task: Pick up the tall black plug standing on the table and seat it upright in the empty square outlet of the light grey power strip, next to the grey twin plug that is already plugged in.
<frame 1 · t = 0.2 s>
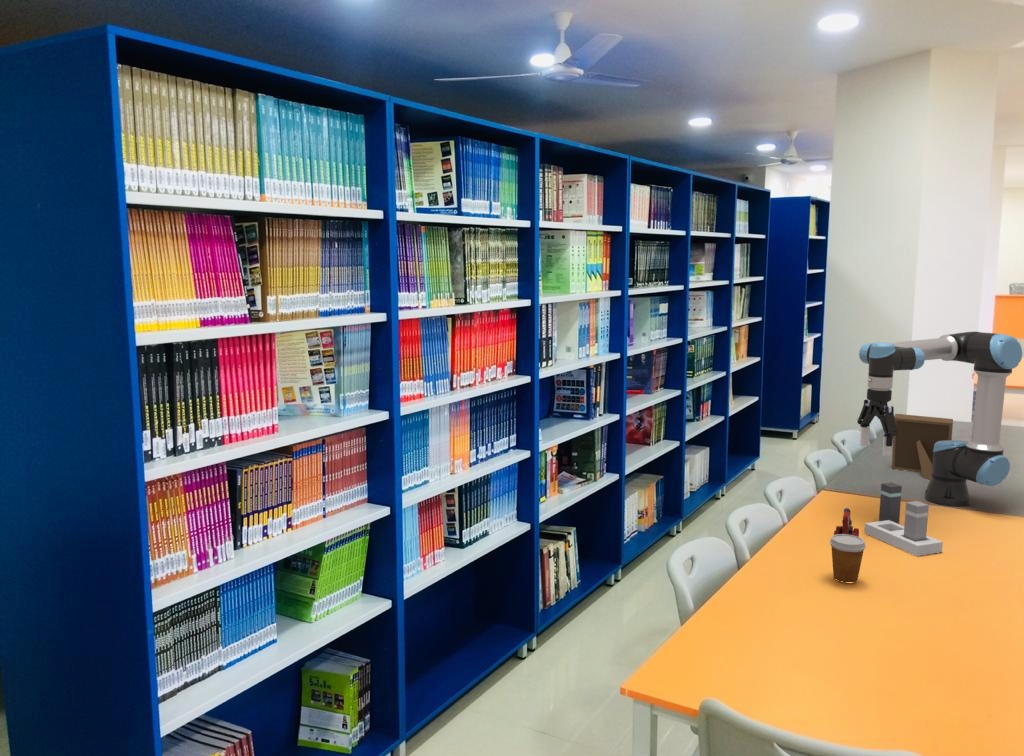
hand: (875, 450, 266), 27 cm above the table, tool pointing down, fingers open, 13 cm apart
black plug: (888, 523, 272), on the table
photo frame: (918, 474, 334), on the table
disposable coffee cup: (845, 579, 225), on the table
twin plug: (914, 547, 249), resting on power strip
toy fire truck: (845, 542, 256), on the table
power strip: (901, 542, 254), on the table
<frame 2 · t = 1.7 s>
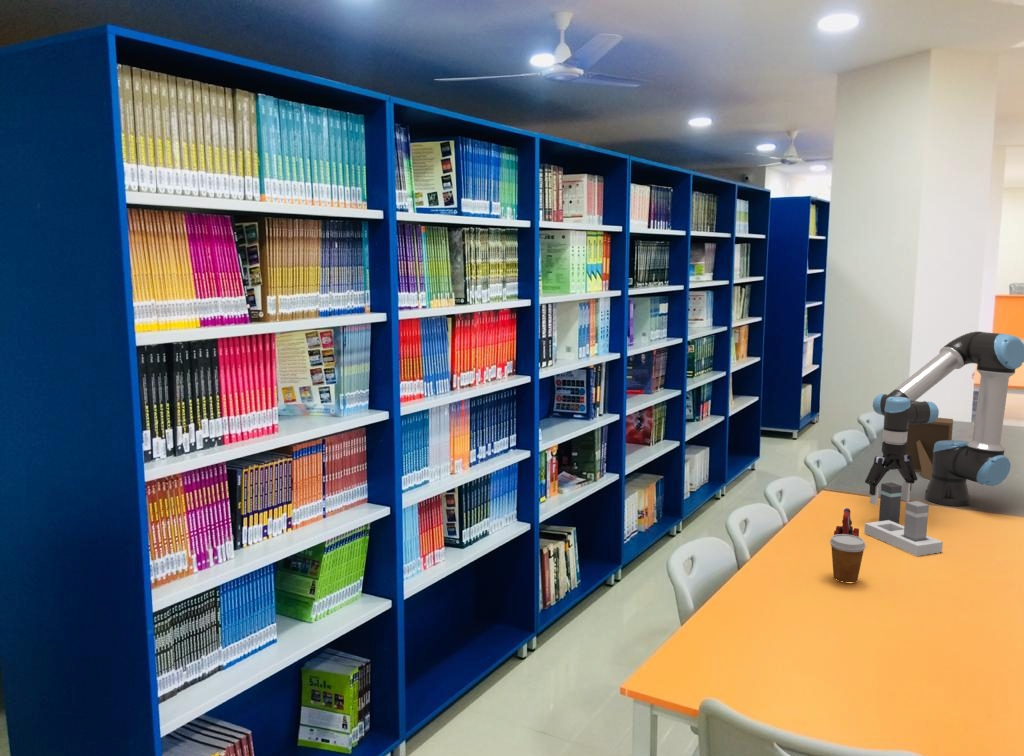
hand: (889, 502, 271), 8 cm above the table, tool pointing down, fingers open, 13 cm apart
nothing on the table moved.
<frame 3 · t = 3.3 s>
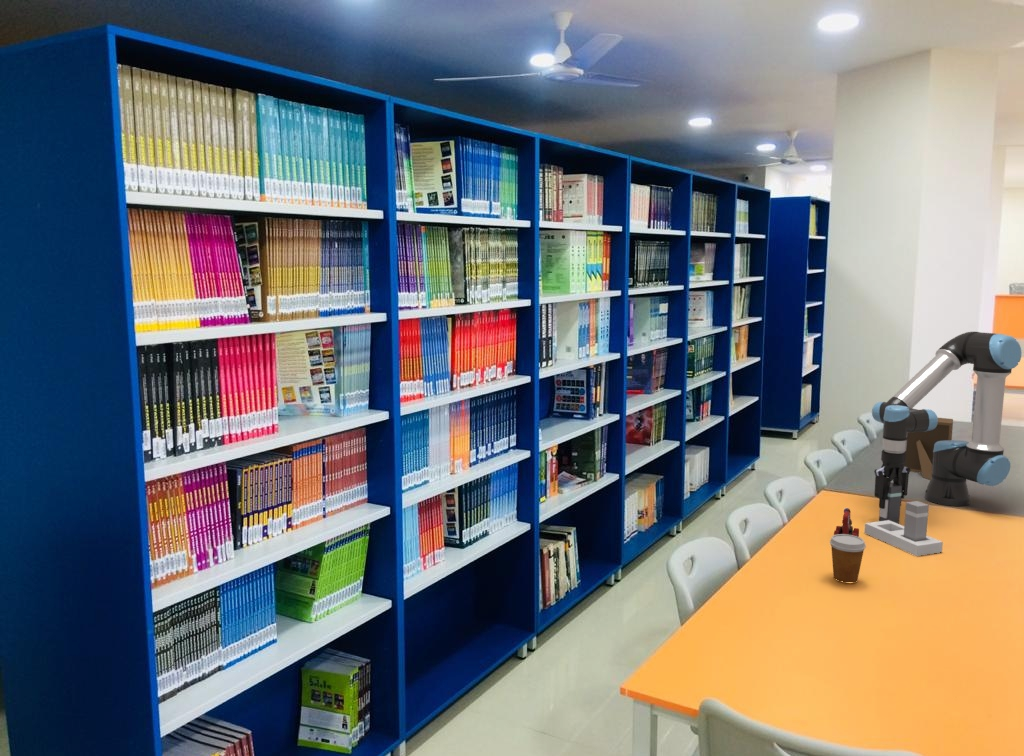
hand: (889, 516, 272), 3 cm above the table, tool pointing down, fingers closed on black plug, 4 cm apart
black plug: (888, 523, 272), on the table, touching gripper
everything else where it was.
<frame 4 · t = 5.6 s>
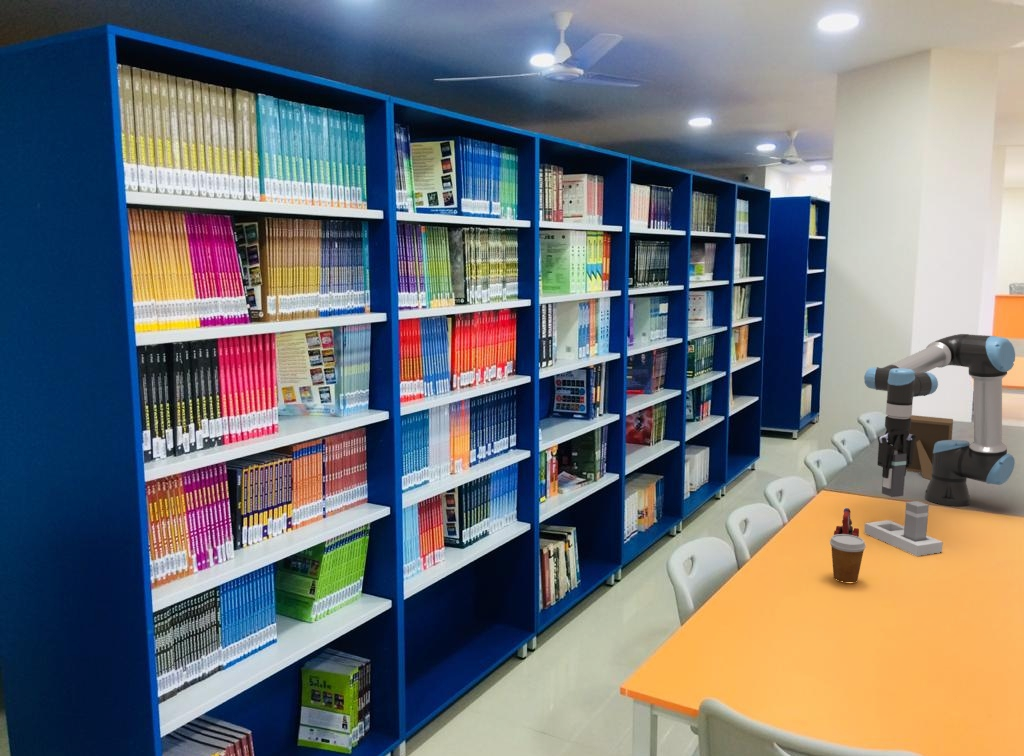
hand: (893, 486, 256), 17 cm above the table, tool pointing down, fingers closed on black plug, 4 cm apart
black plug: (892, 494, 256), point 15 cm above the table, touching gripper
everything else where it was.
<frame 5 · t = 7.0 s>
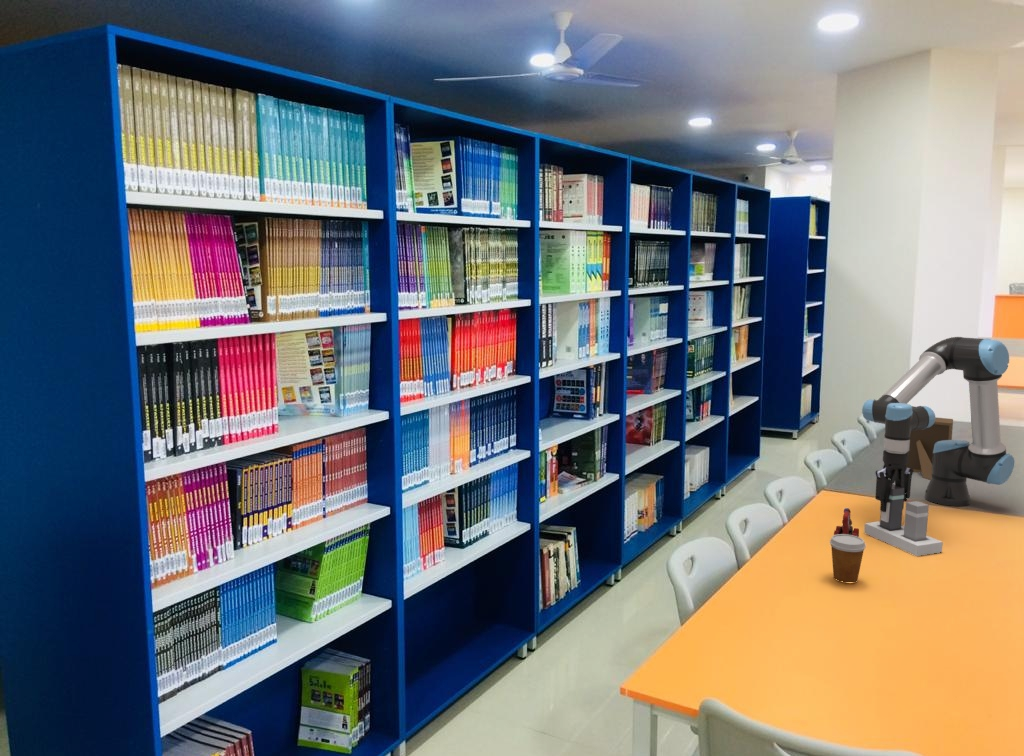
hand: (891, 520, 258), 6 cm above the table, tool pointing down, fingers closed on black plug, 4 cm apart
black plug: (890, 527, 258), point 3 cm above the table, touching gripper
everything else where it was.
when the fingers open (5 cm above the table, at t = 8.2 s): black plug drops 1 cm, resting on power strip.
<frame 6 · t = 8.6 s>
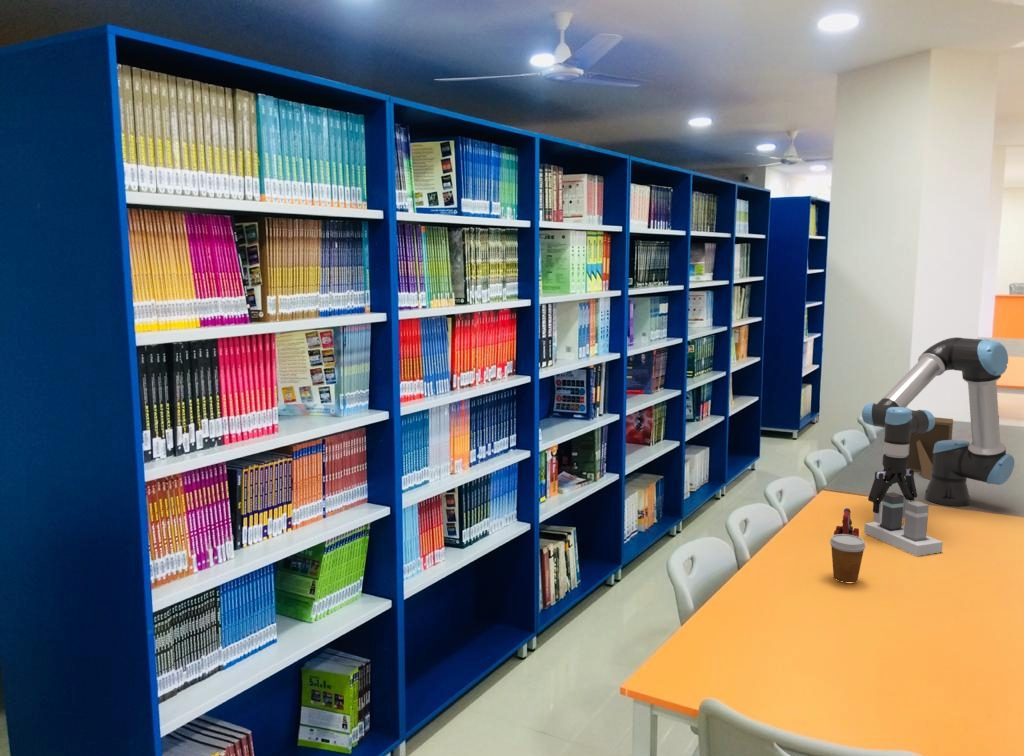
hand: (891, 520, 258), 6 cm above the table, tool pointing down, fingers open, 10 cm apart
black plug: (890, 535, 259), point 1 cm above the table, touching power strip
everything else where it was.
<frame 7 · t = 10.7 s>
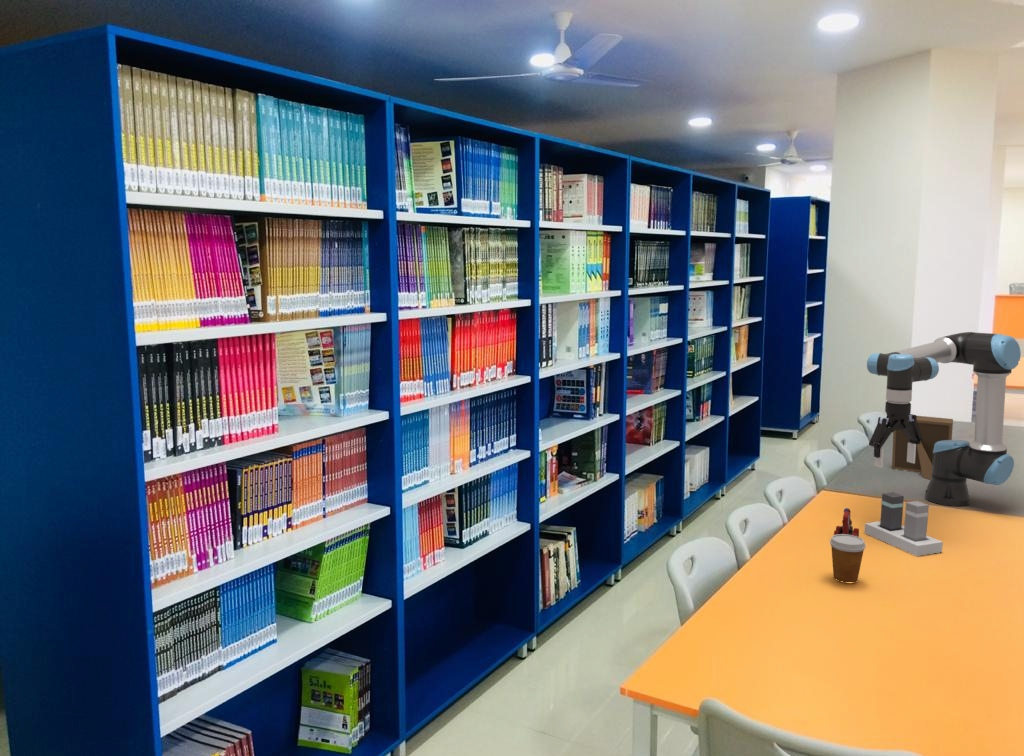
hand: (894, 464, 259), 24 cm above the table, tool pointing down, fingers open, 13 cm apart
nothing on the table moved.
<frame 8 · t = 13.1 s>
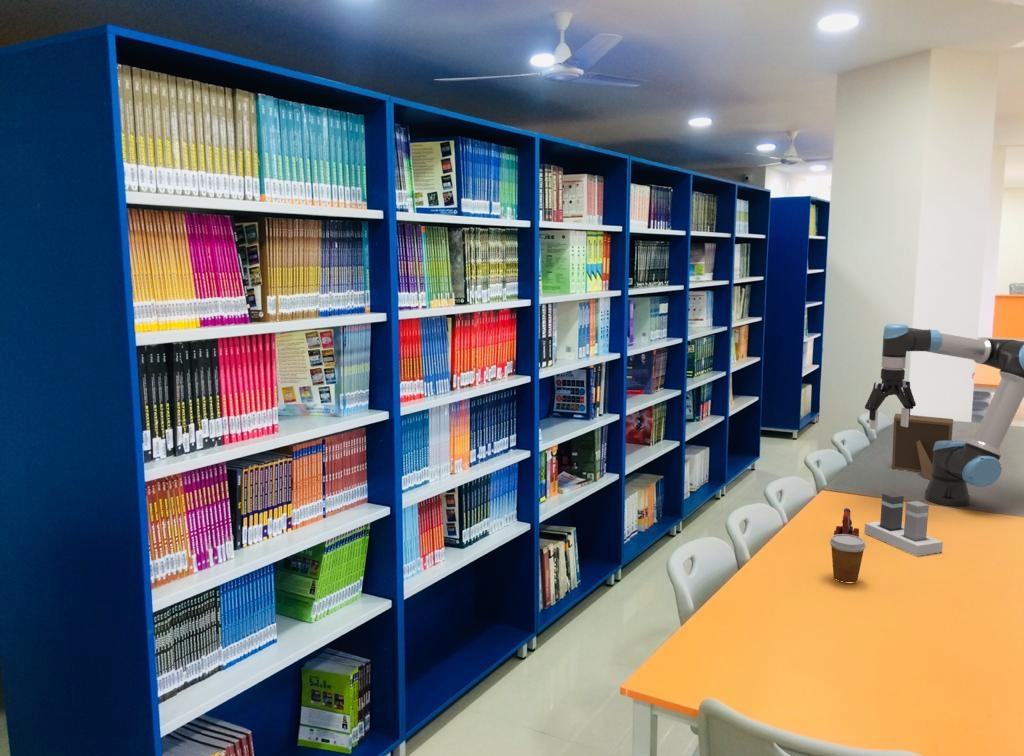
hand: (888, 427, 278), 32 cm above the table, tool pointing down, fingers open, 13 cm apart
nothing on the table moved.
at the end: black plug 0.0 cm from the target spot on the power strip, point 0.6 cm above the power strip's base; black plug tilted 0°; the gripper is holding nothing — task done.
